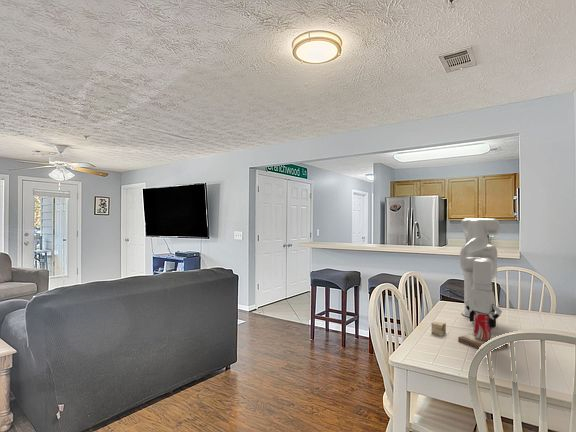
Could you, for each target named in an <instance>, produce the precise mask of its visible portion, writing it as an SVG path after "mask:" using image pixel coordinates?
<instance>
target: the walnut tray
mask: <svg viewBox="0 0 576 432" xmlns="http://www.w3.org/2000/svg"><path fill="white" fill-rule="evenodd" d="M492 338H494V337H493V336H491V339H492ZM457 339H458V342H459V343H463V344H465V345H467V346H471V347H472V348H476V349H478V348H479V347H480V346H481V345H482V344H484V343H485V342H487V341H483V340H479V339H477V338H476V337H475V336H474V333H470V334H466V335H465V334H464V335H459V336H458V337H457ZM507 346H508V347H509V343H508V344H505V345H503V346H501V347H499V348H501V349H503V348H502V347H505V348H508V347H507ZM499 348H497V350H500V349H499ZM497 350H496V349H495V350H494V351H497Z"/></svg>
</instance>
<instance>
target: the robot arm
mask: <svg viewBox="0 0 576 432" xmlns="http://www.w3.org/2000/svg"><path fill="white" fill-rule="evenodd" d="M460 227H461V229H462V232H463V234H464V236H465V244H464V245H463V246H462V248H461V250H460V252H459V263H460V266H459V267H460V268H461V271H462V273H463V274H462V275H463V282H464V286H463V289H464V292H463V295H464V300H463V302H464V303H463V304H464V306H463V307H464V308H463V309H464V310H462V311H461V313H460V314H461V315H462V316H464V317H467V318H469V322H474V314H475V313H476V312H475V311H477V312H480V313H484V314H488V315H489V316H490V318H491V319H490V328H492V329H493V328H496V326H497V319H498V318H499V317H501V314H502V313H503V311H502V310H501V309H500V308H499V306H496V300H495V298H496V297H495V294H494V290H493V280H494V279H495V278H496V277H497V275H498V250H497V247H496V246H495V245H493V244H489V239H488V238H489V237H488V236H490V235H491V236H497V235H499V234H500V232H501V225H500V221H499V220H498V219H497V218H478V217H477V218H476V217H474V218H473V217H470V218H463V219H462V220H461V221H460Z"/></svg>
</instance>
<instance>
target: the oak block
mask: <svg viewBox="0 0 576 432" xmlns="http://www.w3.org/2000/svg"><path fill="white" fill-rule="evenodd" d="M446 332H447V323H446V322H443V321H437V320H435V321H433V322H431V333H432V334H434V335H438V336H443V335H445V334H446Z"/></svg>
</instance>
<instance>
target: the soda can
mask: <svg viewBox="0 0 576 432" xmlns="http://www.w3.org/2000/svg"><path fill="white" fill-rule="evenodd" d="M475 312H476V313H475V314H474V321H473V334H474V336H475V337H476V338H477V339H479V340H483V341H488V340H490V339H491V337H492V334H493V333H492V329H493V328H490V319H491V318H490V316H489V315H488V314H484V313H480V312H477V311H475Z"/></svg>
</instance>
